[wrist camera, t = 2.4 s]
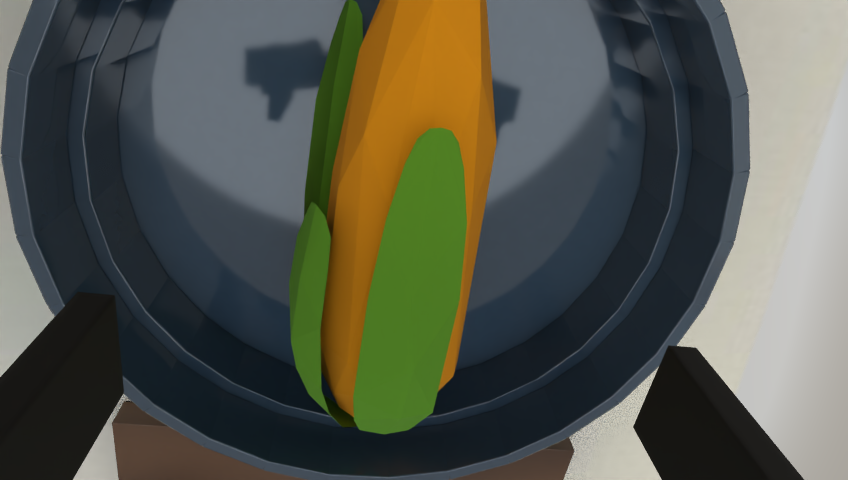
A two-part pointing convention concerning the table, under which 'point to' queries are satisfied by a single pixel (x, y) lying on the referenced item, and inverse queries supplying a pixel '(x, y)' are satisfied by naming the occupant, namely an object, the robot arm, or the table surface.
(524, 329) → the bowl
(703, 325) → the table surface
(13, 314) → the table surface
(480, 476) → the walnut board
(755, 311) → the table surface
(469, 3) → the corn
